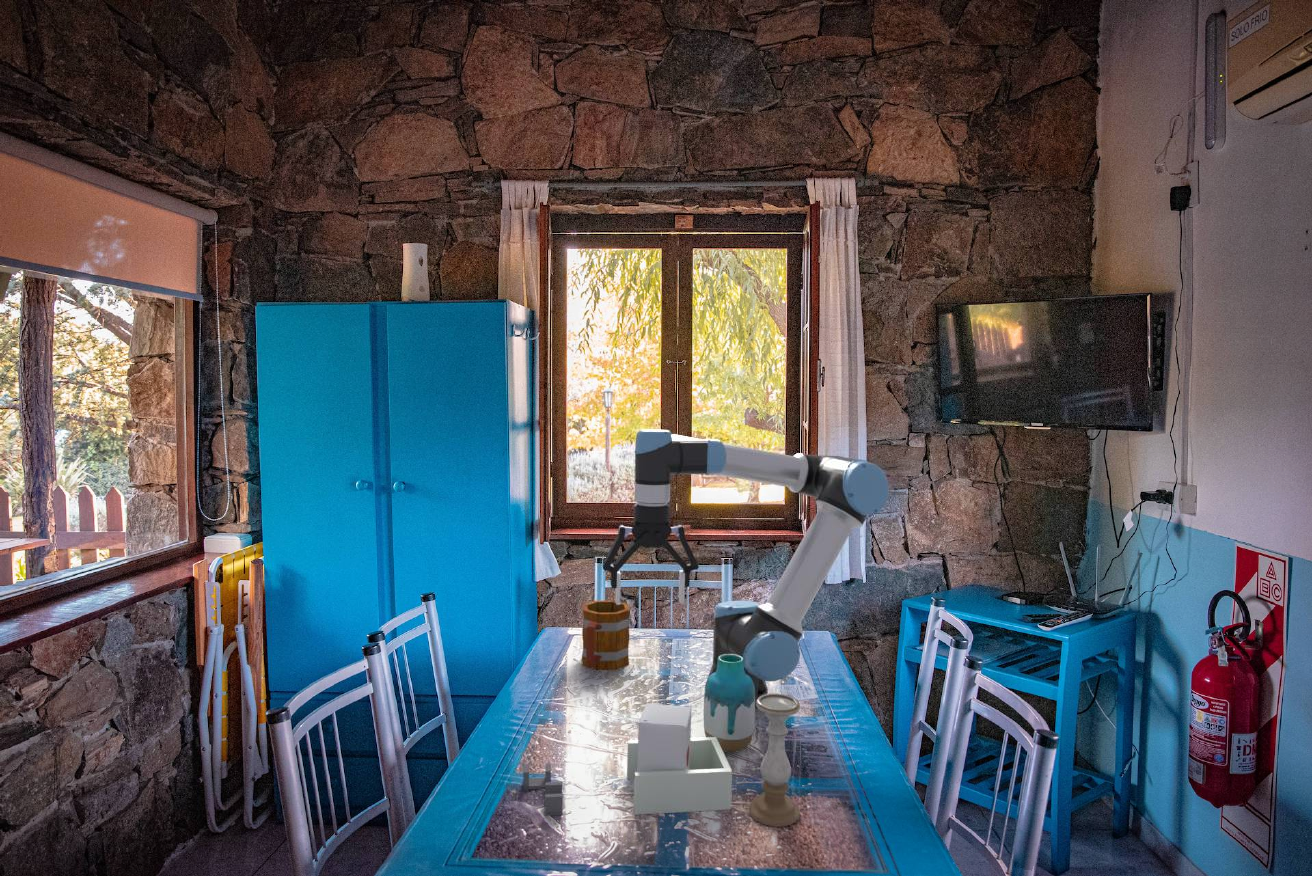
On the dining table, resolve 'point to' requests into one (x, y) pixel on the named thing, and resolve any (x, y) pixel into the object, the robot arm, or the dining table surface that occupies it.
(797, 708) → the candle holder
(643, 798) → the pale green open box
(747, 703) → the vase
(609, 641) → the mug
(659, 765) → the supplement box
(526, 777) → the clip
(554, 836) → the dining table surface
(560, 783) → the clip
